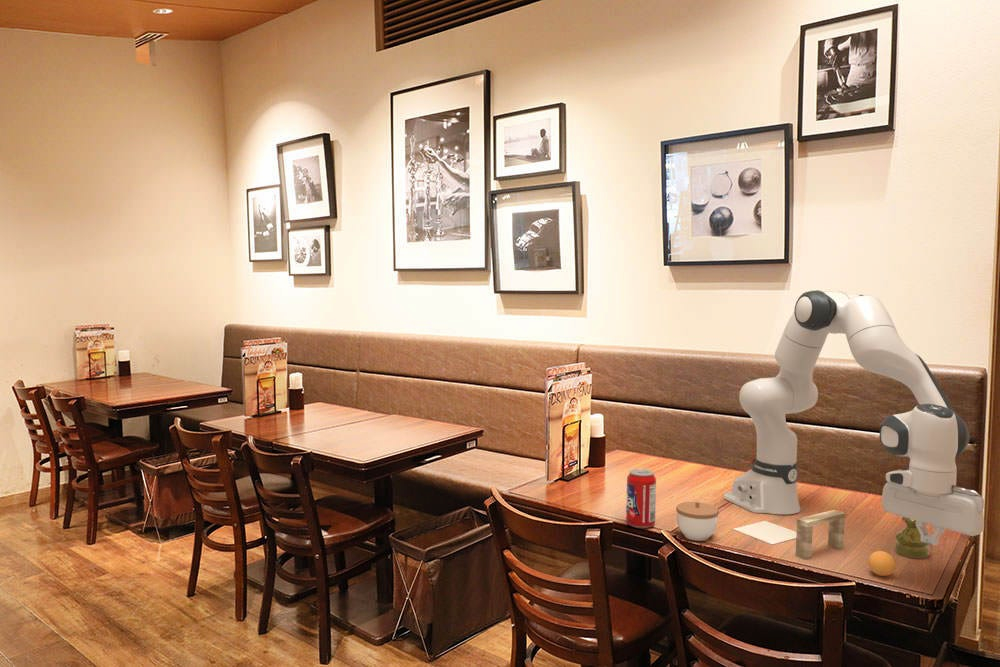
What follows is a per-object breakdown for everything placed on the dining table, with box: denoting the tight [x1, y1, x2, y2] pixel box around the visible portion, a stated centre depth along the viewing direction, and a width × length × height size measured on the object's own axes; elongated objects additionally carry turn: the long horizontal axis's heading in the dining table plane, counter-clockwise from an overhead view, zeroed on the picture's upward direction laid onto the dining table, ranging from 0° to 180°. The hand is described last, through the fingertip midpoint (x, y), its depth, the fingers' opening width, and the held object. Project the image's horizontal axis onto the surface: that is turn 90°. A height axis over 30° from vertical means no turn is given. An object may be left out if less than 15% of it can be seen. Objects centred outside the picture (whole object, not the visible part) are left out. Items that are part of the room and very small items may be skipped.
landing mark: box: [732, 520, 797, 546], centre depth 195 cm, size 13×13×1 cm
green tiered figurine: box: [894, 516, 930, 560], centre depth 180 cm, size 7×7×10 cm
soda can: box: [625, 468, 657, 529], centre depth 200 cm, size 8×8×15 cm
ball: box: [868, 550, 896, 577], centre depth 168 cm, size 6×6×6 cm
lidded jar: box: [675, 500, 719, 542], centre depth 191 cm, size 11×11×9 cm
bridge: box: [795, 509, 846, 561], centre depth 181 cm, size 3×14×9 cm, turn 120°
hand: (929, 543), depth 158 cm, fingers closed
